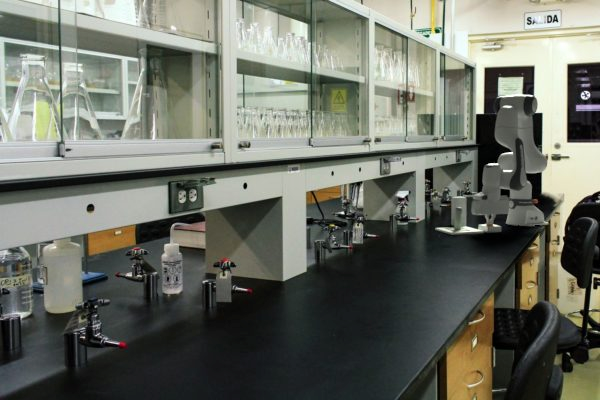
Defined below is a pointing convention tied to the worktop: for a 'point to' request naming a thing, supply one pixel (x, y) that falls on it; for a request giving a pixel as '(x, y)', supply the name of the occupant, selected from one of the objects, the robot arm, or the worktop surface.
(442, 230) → the board
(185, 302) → the worktop surface
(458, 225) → the sage marker
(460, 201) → the skincare box
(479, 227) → the button housing
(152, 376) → the worktop surface
